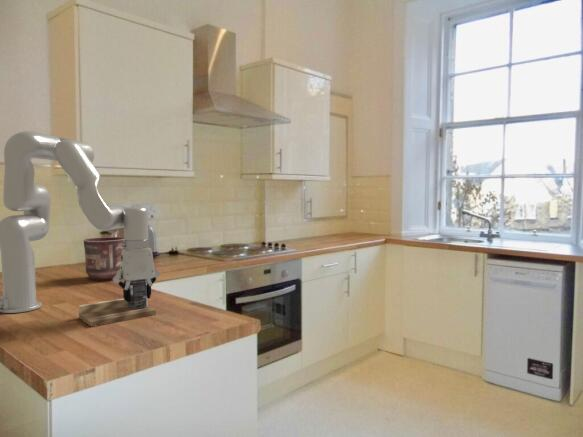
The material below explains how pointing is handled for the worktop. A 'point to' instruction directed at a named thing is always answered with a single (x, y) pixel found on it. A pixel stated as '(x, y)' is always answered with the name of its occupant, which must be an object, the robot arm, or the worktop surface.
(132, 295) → the pill bottle
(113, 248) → the pottery
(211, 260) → the worktop surface
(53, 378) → the worktop surface
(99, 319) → the board
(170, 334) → the worktop surface
